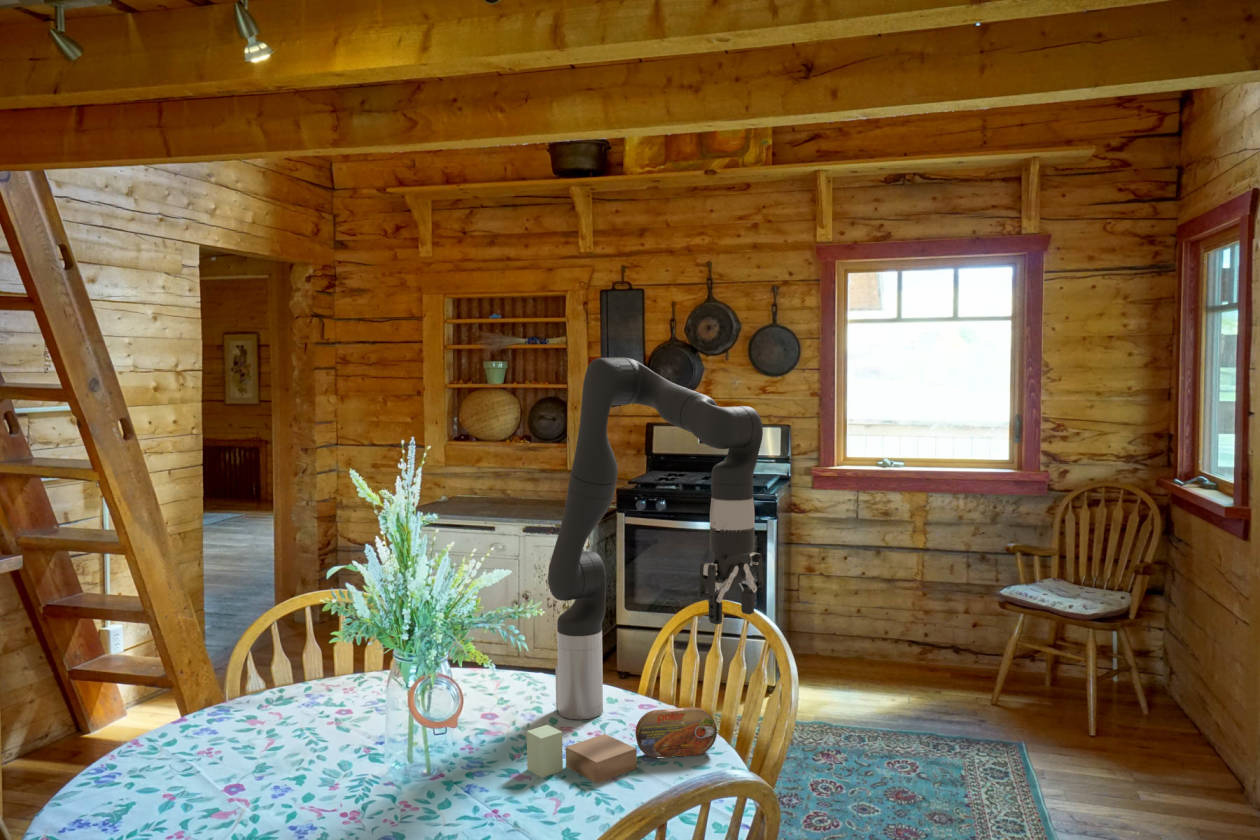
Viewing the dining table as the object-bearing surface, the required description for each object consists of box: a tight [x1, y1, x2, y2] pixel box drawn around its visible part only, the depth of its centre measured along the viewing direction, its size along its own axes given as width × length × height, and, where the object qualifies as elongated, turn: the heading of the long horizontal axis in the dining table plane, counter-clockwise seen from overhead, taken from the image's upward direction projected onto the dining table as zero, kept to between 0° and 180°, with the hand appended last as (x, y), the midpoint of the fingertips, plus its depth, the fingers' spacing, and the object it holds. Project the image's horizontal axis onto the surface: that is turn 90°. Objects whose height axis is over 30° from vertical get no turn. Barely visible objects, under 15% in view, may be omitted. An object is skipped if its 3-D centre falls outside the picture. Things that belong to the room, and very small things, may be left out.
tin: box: [635, 706, 718, 759], centre depth 175 cm, size 15×3×8 cm, turn 99°
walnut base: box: [565, 733, 638, 784], centre depth 169 cm, size 9×9×4 cm
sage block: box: [526, 724, 564, 779], centre depth 169 cm, size 4×4×7 cm
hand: (731, 618), depth 162 cm, fingers open, 8 cm apart
